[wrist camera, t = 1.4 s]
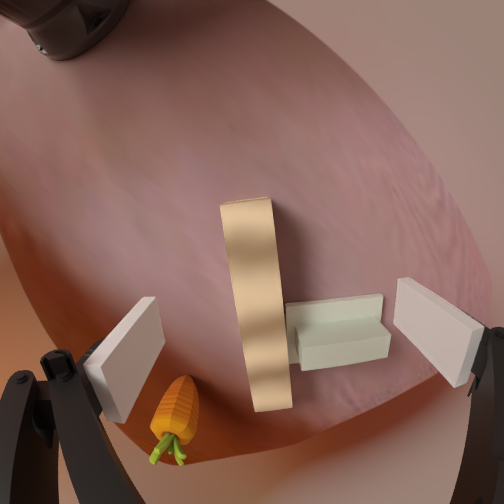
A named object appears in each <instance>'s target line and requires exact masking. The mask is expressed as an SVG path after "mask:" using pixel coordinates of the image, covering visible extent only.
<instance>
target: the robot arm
mask: <svg viewBox="0 0 504 504" xmlns="http://www.w3.org/2000/svg"><path fill="white" fill-rule="evenodd" d="M128 3H129V0H0V16H2V17H4V18H6V19H8V20H10V21H12V22H14V23H15V24H17V25H19V26H21V27H23V28H24V29H26V31H27V32H28V34H29V36H30V37H31V39H32V41H33V42H34V43H35V45H36V47H37V49H38V50H39V51H40V52H41V53H42V54H43V55H45V56H47V57H49V58H51V59H53V60H65V59H69V58H72V57H75V56H77V55H79V54H81V53H83V52H85V51H86V50H88V49H89V48H91V47H92V46H94V45H95V44H96V43H98V42H99V41H100V40H101V39H103V38H104V37H105V36H106V35H107V34H108V33H109V32H110V31H111V30H112V29H113V28H114V27H115V25H116V24H117V23H118V22H119V20H120V19H121V17H122V16H123V14H124V12H125V11H126V8H127V6H128ZM393 324H394V325H395V326H396V327H397V328H398V329H399V330H400V331H401V332H402V333H403V334H404V335H405V336H406V337H407V338H408V339H409V340H410V341H411V342H412V343H413V344H414V345H415V346H416V347H417V348H418V349H419V350H420V352H421V353H422V354H423V355H424V356H425V357H426V358H427V359H428V360H429V361H430V362H431V363H432V364H433V365H434V366H435V368H436V369H437V370H438V371H439V372H440V373H441V374H442V375H443V376H444V377H445V378H446V379H447V381H448V382H449V383H450V384H451V385H452V386H453V387H454V388H455V387H458V386H461V385H463V384H465V383H467V380H468V378H469V375H470V372H472V373H474V374H475V378H474V380H473V383H472V385H471V388H470V390H469V393H468V395H467V396H468V397H469V396H470V394H471V393H472V398H471V408H470V417H469V424H468V431H467V437H466V443H465V448H464V453H463V457H462V463H461V466H460V470H459V475H458V478H457V482H456V485H455V489H454V492H453V496H452V498H451V501H450V504H504V328H503V327H495V328H492V329H491V330H490V329H489V328H487V327H486V326H485V325H483V324H482V323H480V322H479V321H477V320H475V319H474V318H473V317H471V316H470V315H468V314H467V313H465V312H464V311H462V310H460V309H458V308H457V307H455V306H453V305H452V304H450V303H449V302H447V301H446V300H444V299H443V298H441V297H440V296H438V295H437V294H435V293H433V292H432V291H430V290H429V289H427V288H426V287H424V286H422V285H421V284H419V283H418V282H416V281H414V280H413V279H411V278H409V277H407V278H399V279H398V284H397V295H396V304H395V312H394V320H393ZM164 343H165V339H164V334H163V329H162V325H161V320H160V315H159V310H158V304H157V299H156V297H143V298H142V299H141V300H140V301H139V302H138V303H137V304H136V305H135V306H134V307H133V308H132V310H131V311H130V312H129V313H128V314H127V315H126V316H125V317H124V318H123V319H122V321H121V322H120V323H119V324H118V325H117V326H116V327H115V328H114V329H113V331H112V332H111V333H110V334H109V335H108V336H107V337H106V338H102V339H101V340H99V341H97V342H96V343H94V344H93V345H92V346H91V348H90V349H89V350H88V351H87V352H86V353H85V355H83V356H82V358H81V359H80V360H79V361H78V362H77V363H76V364H75V363H74V360H73V357H72V355H71V353H70V351H68V350H66V349H58V350H53V351H51V352H48V353H47V354H45V355H44V356H43V357H42V358H41V360H40V363H41V365H42V368H43V370H44V372H45V375H46V377H47V379H48V381H37V380H36V378H35V376H34V374H33V372H31V371H29V370H23V371H18V372H15V373H14V374H13V375H12V376H11V377H10V378H9V380H8V382H7V384H6V387H5V389H4V392H3V394H2V397H1V400H0V504H59V493H58V451H59V441H60V445H61V449H62V452H63V456H64V459H65V463H66V466H67V470H68V472H69V475H70V479H71V482H72V484H73V487H74V490H75V493H76V495H77V498H78V500H79V503H80V504H146V503H145V502H144V500H143V498H142V497H141V495H140V494H139V492H138V491H137V489H136V487H135V486H134V484H133V482H132V481H131V479H130V477H129V476H128V474H127V472H126V470H125V469H124V467H123V465H122V463H121V461H120V459H119V458H118V456H117V454H116V452H115V450H114V448H113V446H112V444H111V442H110V440H109V438H108V435H107V433H106V431H105V429H104V427H103V425H102V422H101V420H100V419H99V415H100V414H101V412H102V410H103V412H104V414H105V416H106V418H107V420H108V421H111V422H117V423H123V424H125V422H126V419H127V417H128V415H129V413H130V411H131V409H132V407H133V405H134V403H135V401H136V399H137V397H138V395H139V393H140V391H141V389H142V387H143V385H144V383H145V381H146V379H147V377H148V375H149V373H150V371H151V369H152V367H153V365H154V363H155V361H156V359H157V357H158V355H159V353H160V351H161V349H162V347H163V345H164Z"/></svg>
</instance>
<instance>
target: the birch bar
mask: <svg viewBox="0 0 504 504" xmlns="http://www.w3.org/2000/svg"><path fill="white" fill-rule="evenodd" d="M220 210H221V217H222V224H223V230H224V237H225V243H226V250H227V256H228V262H229V269H230V275H231V281H232V287H233V293H234V299H235V305H236V311H237V317H238V323H239V328H240V334H241V340H242V345H243V351H244V356H245V362H246V367H247V373H248V378H249V383H250V389H251V394H252V399H253V404H254V409H255V412H262V411H271V410H279V409H286V408H292V395H291V383H290V371H289V360H288V349H287V338H286V328H285V318H284V308H283V299H282V289H281V280H280V271H279V262H278V253H277V245H276V236H275V228H274V220H273V212H272V204H271V198H269V197H261V198H253V199H246V200H239V201H232V202H225V203H223V204H222V205H220Z"/></svg>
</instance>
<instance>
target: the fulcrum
mask: <svg viewBox="0 0 504 504" xmlns="http://www.w3.org/2000/svg"><path fill="white" fill-rule="evenodd" d="M382 305H383V295H382V294H380V293H377V294H369V295H361V296H353V297H344V298H335V299H325V300H315V301H304V302H293V303H285V319H286V338H287V349H288V360H289V364H294V363H300V366H301V370H302V371H306V370H315V369H322V368H329V367H336V366H343V365H349V364H355V363H360V362H366V361H371V360H376V359H381V358H386V357H388V351H389V346H390V340H391V334H390V333H389V331H388V330H387V329H386V328H385V327H384V326H383V325H382V324H381V323H380V322H381V314H382Z"/></svg>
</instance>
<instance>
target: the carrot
mask: <svg viewBox="0 0 504 504" xmlns="http://www.w3.org/2000/svg"><path fill="white" fill-rule="evenodd" d="M198 413H199V400H198V392H197V389H196V386H195V384H194V382H193V380H192V378H191V376H190V375H183V376H181V377H179V378H178V379H176V380H175V381H174V382H173V383H172V384H171V386H170V387H169V388H168V390H167V391H166V393H165V395H164V396H163V398H162V400H161V402H160V404H159V406H158V408H157V410H156V412H155V415H154V417H153V419H152V422H151V425H150V428H151V430H152V431H153V432H154V434H155V435H156V437H157V438H158V439H159V440H160V442H159V444H158V445H157V446H156V447H155V448H154V451H153V453H152V454H151V456H150V458H149V461H150V462H151V464H155V465H156V464H157V462H158V460H159V458H160V456H161V454H162V452H163V451H165V450H166V449H167V448H168V453H169V454H172V453H173V448H174V454H175V458H176V461H177V462H178V464H179V465H180V466H183V465H184V463H183V461H182V459H185V458H186V454H185V452H184V451H183V449H182V447H181V445H186V444H188V443H189V441H190V440H191V439H192V438H193V436H194V435H195V433H196V427H197V421H198Z"/></svg>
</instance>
